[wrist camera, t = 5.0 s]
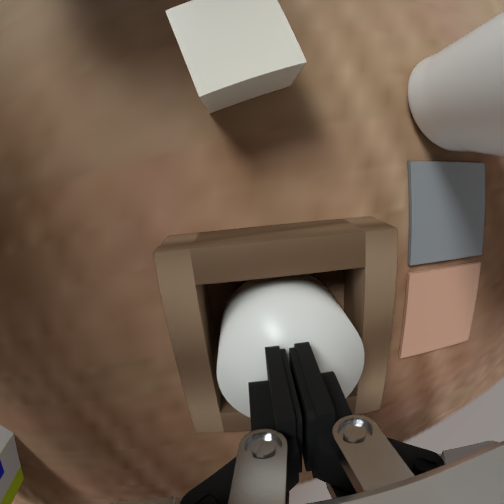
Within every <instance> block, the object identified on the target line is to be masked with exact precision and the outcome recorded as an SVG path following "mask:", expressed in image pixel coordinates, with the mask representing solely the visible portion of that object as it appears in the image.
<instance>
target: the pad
mask: <svg viewBox="0 0 504 504" xmlns="http://www.w3.org/2000/svg"><path fill="white" fill-rule="evenodd" d="M480 268H481V262H479V261H477V262H471V263H465V264H459V265H453V266H447V267H441V268H434V269H428V270H421V271H415V272H408V273H407V284H406V297H405V308H404V317H403V326H402V334H401V342H400V349H399V357H400V359H401V358H405V357H409V356H413V355H417V354H421V353H425V352H429V351H433V350H436V349H440V348H444V347H447V346H451V345H454V344H457V343H461V342H464V341H467V340H468V338H469V333H470V329H471V324H472V319H473V314H474V308H475V302H476V297H477V290H478V283H479V276H480Z"/></svg>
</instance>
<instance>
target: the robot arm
mask: <svg viewBox="0 0 504 504" xmlns="http://www.w3.org/2000/svg"><path fill="white" fill-rule="evenodd" d="M265 356H266V367H267V378H268V380H266V381H256V382H248V387H249V403H250V419H251V432H250V433H248V434H247V435H245V436H244V437H243V438H242V439H241V442H240V444H239V448H238V454H237V457H235V458H234V459H233V460H231V461H230V462H229V463H228V464H226V465H225V466H224V467H222V468H221V469H220V470H218V471H217V472H216V473H214V474H213V475H212V476H210V477H209V478H208V479H206V480H205V481H203V482H202V483H201V484H199V485H198V486H196V487H195V488H194V489H192V490H191V491H189V492H188V493H187V494H186V495H185V496H184V497H183V498H176V499H174V498H173V496H171V497H163V498H155V499H145V500H134V501H119V502H114V503H111V504H289V491H290V490H291V489H292V488H293V487H294V486H295V485H296V484H297V483H298V482H299V472H302V454H303V459H304V464H305V468H306V471H312V474H313V478H318V479H320V480H322V481H324V482H326V485H327V489H328V491H329V493H330V495H331V497H332V499H330V500H325V501H320V502H314V503H308V504H504V441H502V442H499V443H498V442H495V441H485V442H482V443H477V444H473V445H469V446H465V447H460V448H455V449H450V450H445V451H443V452H442V454H437V453H435V452H432V451H429V450H426V449H423V448H418V447H415V446H412V445H409V444H406V443H403V442H399V441H396V440H393V439H390V438H387V437H386V436H385V435H384V434H383V432H382V431H381V430H380V428H379V427H378V426H377V424H376V423H375V422H374V421H373V420H372V419H370V418H368V417H366V416H362V415H353V414H352V412H351V410H350V407H349V405H348V403H347V400H346V398H345V396H344V393H343V391H342V389H341V386H340V384H339V382H338V380H337V377H336V375H335V373H334V372H333V371H330V372H324V373H321V372H320V369H319V367H318V364H317V362H316V359H315V356H314V354H313V351H312V349H311V346H310V343H309V342H302V343H295V344H294V347H293V348H289V358H290V366H289V362H288V358H287V354H286V350H285V349H280V347H279V346H270V347H265Z"/></svg>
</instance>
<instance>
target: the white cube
mask: <svg viewBox="0 0 504 504" xmlns="http://www.w3.org/2000/svg"><path fill="white" fill-rule="evenodd" d="M165 12H166V14H167V17H168V19H169V22H170V24H171V27H172V29H173V32H174V34H175V37H176V39H177V42H178V44H179V47H180V49H181V52H182V54H183V57H184V60H185V62H186V65H187V67H188V70H189V72H190V75H191V77H192V80H193V82H194V85H195V88H196V90H197V93H198V95H199V97H200V99H201V101H202V102H203V104H204V106H205V107H206V109H207V111H208V112H209V114H210V113H213V112H215V111H218V110H221V109H223V108H226V107H229V106H232V105H234V104H237V103H240V102H243V101H246V100H249V99H252V98H254V97H257V96H260V95H264V94H267V93H270V92H273V91H276V90H279V89H283V88H286V87H289V86H291V84H292V83H293V81H294V80H295V78H296V77H297V76H298V74H299V73H300V71H301V70H302V68H303V67H304V65H305V64H306V59H305V57H304V55H303V53H302V50H301V48H300V46H299V44H298V42H297V39H296V37H295V35H294V33H293V31H292V29H291V27H290V25H289V23H288V20H287V18H286V16H285V14H284V12H283V10H282V8H281V6H280V4H279V3H278V1H277V0H192V1H189V2H186V3H183V4H181V5H178V6H175V7H173V8H170V9H168V10H165Z"/></svg>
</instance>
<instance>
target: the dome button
mask: <svg viewBox="0 0 504 504" xmlns="http://www.w3.org/2000/svg"><path fill="white" fill-rule="evenodd" d="M302 342H309V343H310V346H311V349H312V351H313V354H314V356H315V359H316V362H317V364H318V367H319V369H320V372H321V373H324V372H330V371H333V372H334V373H335V375H336V377H337V380H338V382H339V384H340V386H341V389H342V391H343V393H344V396H345V398H347V397H348V395H349V394H350V393H351V392H352V391H353V389H354V388H355V386H356V385H357V383H358V381H359V379H360V377H361V374H362V371H363V366H364V347H363V344H362V340H361V338H360V336H359V334H358V332H357V331H356V329H355V328H354V326H353V325H352V323H351V322H350V320H349V319H348V317H347V316H346V314H345V312H344V311H343V309H342V308H341V307H340V305H339V304H338V302H337V301H336V299H335V298H334V296H333V295H332V293H331V292H330V291H329V289H328V288H327V287H326V286H325V285H324V284H323V283H322V282H321V281H319V280H318V279H316V278H315V277H313V276H311V275H309V274H300V275H291V276H282V277H273V278H263V279H253V280H248V281H246V282H245V283H243V284H242V285H241V286H240V287H239V288H238V289H237V290H236V291H235V292H234V293H233V294H232V296H231V297H230V298H229V300H228V302H227V304H226V306H225V308H224V311H223V315H222V320H221V330H220V339H219V349H218V359H217V372H216V373H217V381H218V384H219V388H220V390H221V392H222V394H223V396H224V397H225V399H226V400H227V401H228V402H229V403H230V404H231V405H232V406H233V407H234V408H235V409H236V410H237V411H239V412H240V413H242V414H244V415H245V416H248V417H250V403H249V387H248V382H256V381H266V380H268V378H267V367H266V356H265V347H270V346H279V347H280V349H285V350H286V354H287V358H288V362H289V366H290V358H289V348H293V347H294V344H295V343H302Z"/></svg>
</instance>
